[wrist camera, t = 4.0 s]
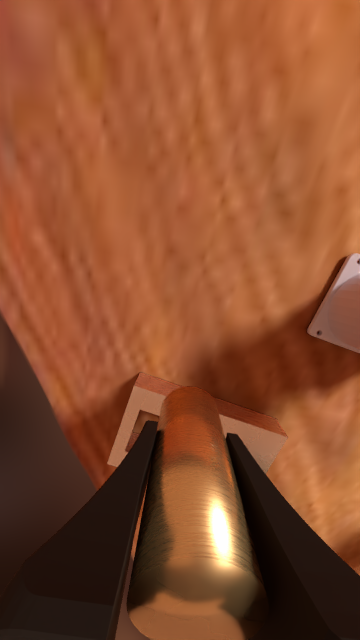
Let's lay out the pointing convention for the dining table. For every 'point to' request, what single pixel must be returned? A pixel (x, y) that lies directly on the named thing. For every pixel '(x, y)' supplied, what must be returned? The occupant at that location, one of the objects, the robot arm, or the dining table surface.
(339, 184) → the dining table surface
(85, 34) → the dining table surface
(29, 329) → the dining table surface
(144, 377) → the plate
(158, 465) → the brass fitting
